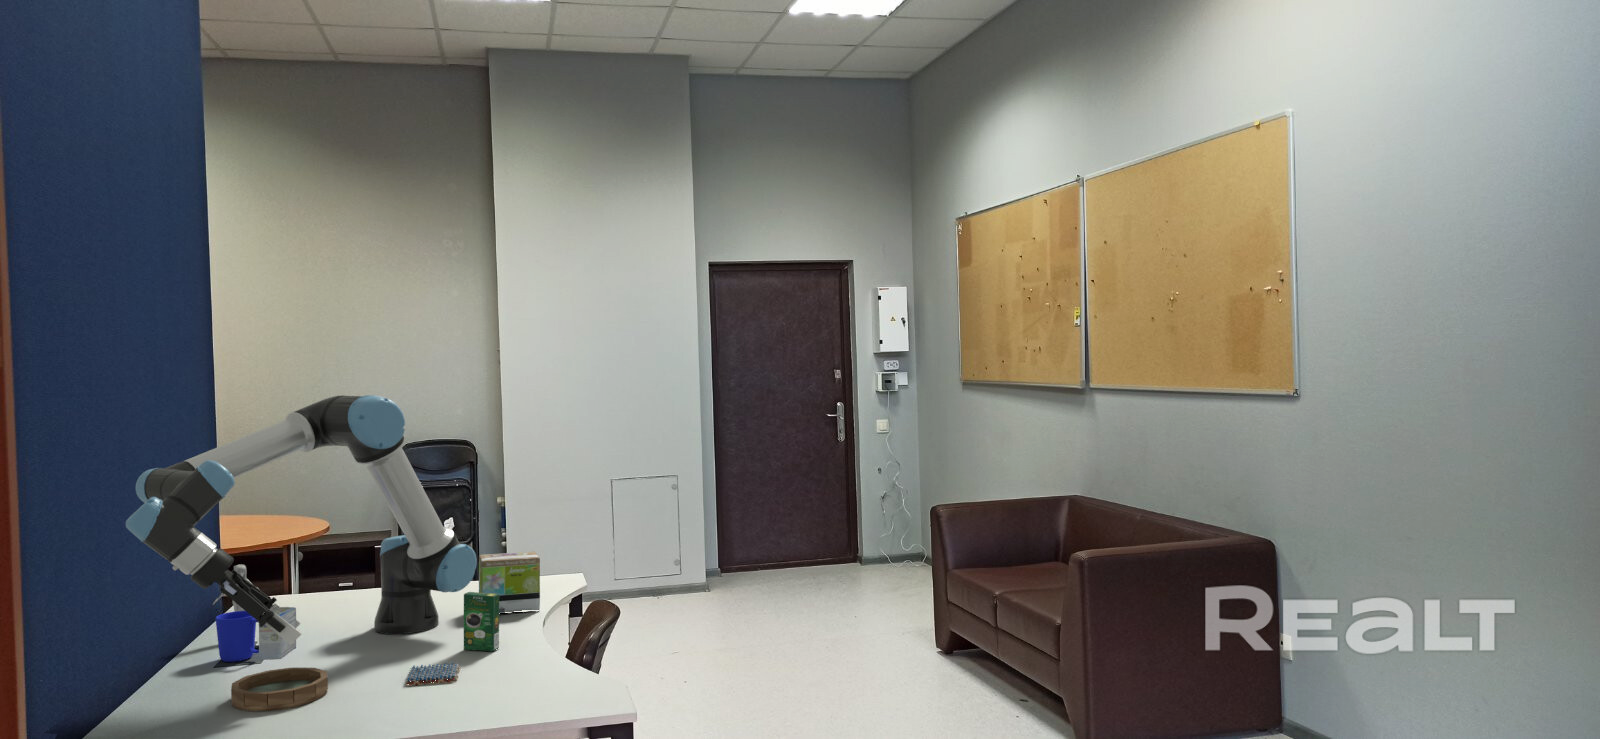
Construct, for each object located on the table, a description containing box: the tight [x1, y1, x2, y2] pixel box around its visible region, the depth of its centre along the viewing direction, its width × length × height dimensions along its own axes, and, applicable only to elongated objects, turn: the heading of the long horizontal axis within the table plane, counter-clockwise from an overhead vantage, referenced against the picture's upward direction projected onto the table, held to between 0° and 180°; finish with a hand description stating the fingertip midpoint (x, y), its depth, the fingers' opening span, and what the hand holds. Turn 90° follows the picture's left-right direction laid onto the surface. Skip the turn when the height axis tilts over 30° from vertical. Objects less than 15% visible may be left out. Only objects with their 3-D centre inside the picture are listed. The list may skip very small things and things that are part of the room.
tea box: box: [478, 551, 541, 613], centre depth 287 cm, size 15×10×15 cm, turn 111°
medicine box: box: [258, 606, 297, 661], centre depth 215 cm, size 8×4×9 cm, turn 6°
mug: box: [215, 611, 259, 663], centre depth 243 cm, size 8×12×10 cm
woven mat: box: [405, 662, 461, 687], centre depth 227 cm, size 10×11×2 cm
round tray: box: [230, 667, 329, 712], centre depth 215 cm, size 17×17×3 cm
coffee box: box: [463, 591, 500, 652], centre depth 248 cm, size 8×3×13 cm, turn 77°
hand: (295, 633), depth 216 cm, fingers closed on medicine box, 9 cm apart
